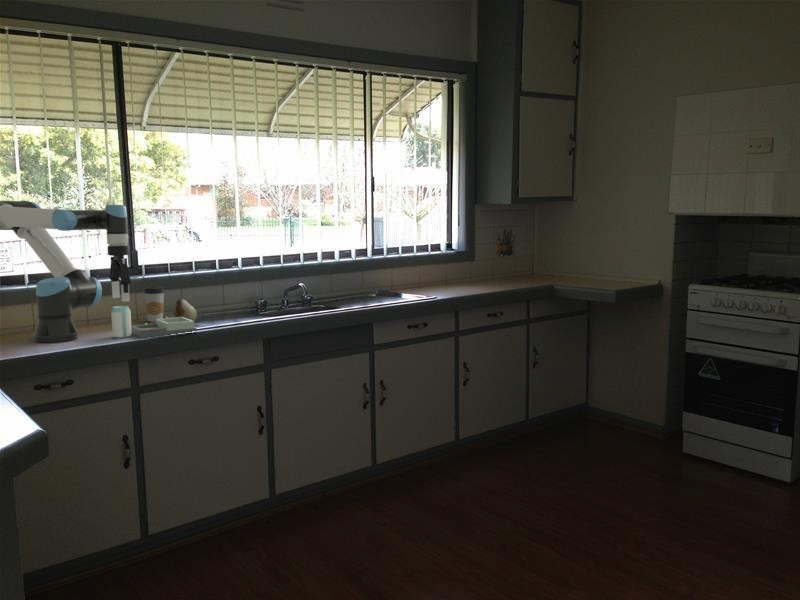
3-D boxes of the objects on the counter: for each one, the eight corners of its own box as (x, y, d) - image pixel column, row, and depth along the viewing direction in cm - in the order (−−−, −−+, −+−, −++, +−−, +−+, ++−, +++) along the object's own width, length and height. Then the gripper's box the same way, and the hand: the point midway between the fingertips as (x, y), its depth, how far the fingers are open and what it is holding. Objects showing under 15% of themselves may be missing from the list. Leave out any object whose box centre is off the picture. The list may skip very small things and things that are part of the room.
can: (110, 336, 277) (108, 306, 276) (128, 334, 281) (127, 304, 280) (115, 339, 272) (113, 308, 270) (133, 337, 276) (132, 307, 274)
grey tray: (141, 338, 273) (141, 326, 272) (131, 333, 284) (130, 321, 283) (197, 333, 286) (196, 320, 285) (184, 328, 297) (184, 316, 296)
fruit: (179, 323, 310) (178, 296, 308) (200, 323, 309) (199, 296, 308) (170, 327, 300) (169, 299, 298) (192, 327, 299) (191, 299, 298)
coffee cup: (144, 322, 311) (142, 288, 309) (147, 319, 319) (145, 286, 317) (164, 322, 312) (162, 288, 310) (166, 319, 320) (165, 286, 318)
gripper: (137, 245, 264) (140, 302, 267) (119, 243, 284) (122, 295, 287) (116, 246, 260) (119, 303, 262) (99, 244, 280) (102, 297, 282)
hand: (120, 299), depth 274 cm, fingers open, 13 cm apart
